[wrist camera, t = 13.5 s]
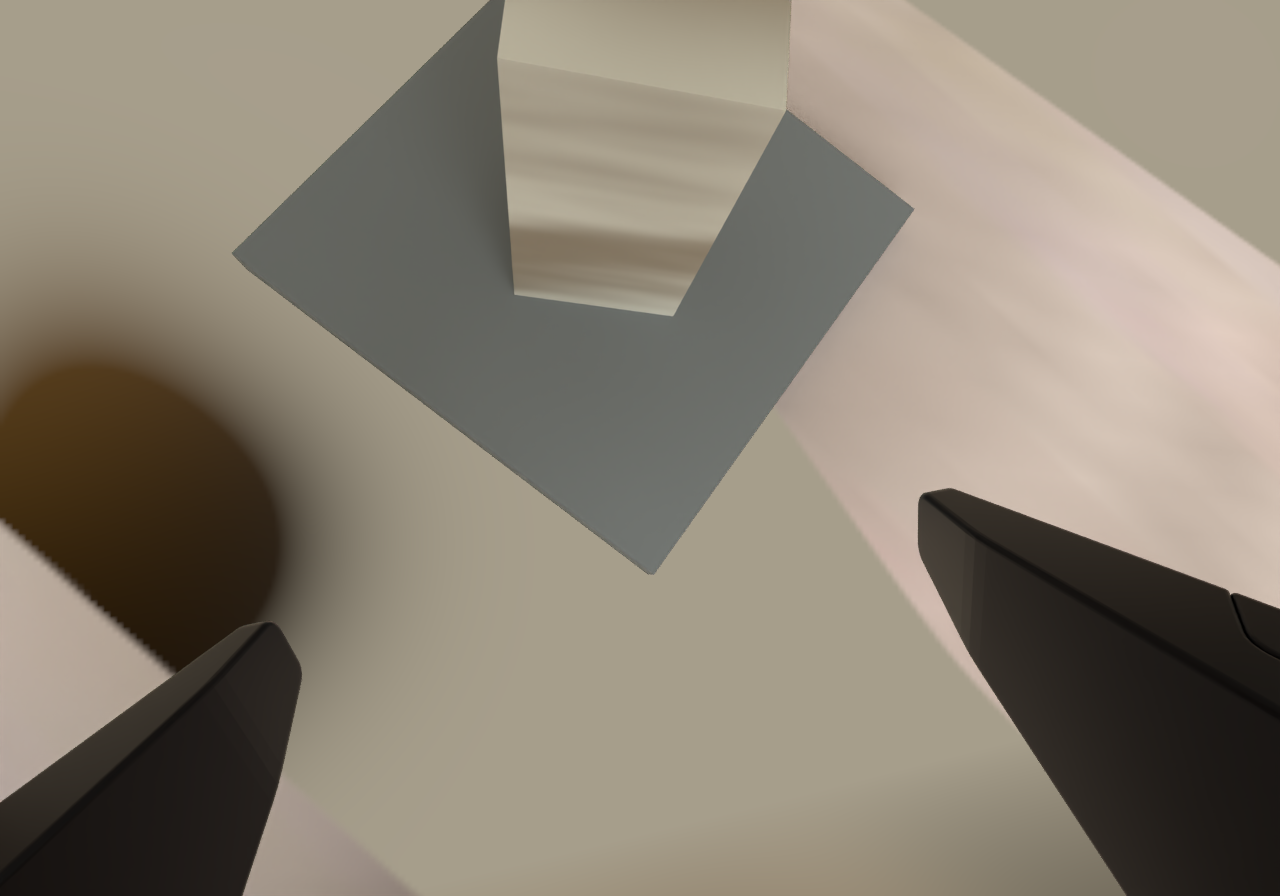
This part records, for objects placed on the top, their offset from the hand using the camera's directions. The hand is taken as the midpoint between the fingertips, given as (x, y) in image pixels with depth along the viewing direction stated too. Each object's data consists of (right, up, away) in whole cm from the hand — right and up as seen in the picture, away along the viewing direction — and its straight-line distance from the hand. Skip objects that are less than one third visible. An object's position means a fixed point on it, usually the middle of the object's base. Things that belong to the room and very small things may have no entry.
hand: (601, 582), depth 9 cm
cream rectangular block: (-1, +8, +10) cm, 13 cm away
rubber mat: (-1, +8, +11) cm, 14 cm away
